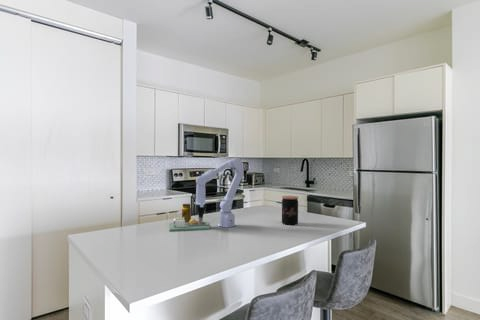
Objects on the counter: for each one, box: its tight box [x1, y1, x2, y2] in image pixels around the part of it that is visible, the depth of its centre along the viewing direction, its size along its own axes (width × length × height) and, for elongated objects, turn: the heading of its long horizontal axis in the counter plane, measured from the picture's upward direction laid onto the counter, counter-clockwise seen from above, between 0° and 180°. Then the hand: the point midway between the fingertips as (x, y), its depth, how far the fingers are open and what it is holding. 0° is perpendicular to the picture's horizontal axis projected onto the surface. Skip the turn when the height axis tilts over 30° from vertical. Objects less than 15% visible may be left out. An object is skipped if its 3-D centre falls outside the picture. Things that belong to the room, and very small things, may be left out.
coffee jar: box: [281, 195, 299, 226], centre depth 186 cm, size 11×11×18 cm
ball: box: [189, 218, 197, 225], centre depth 175 cm, size 4×4×4 cm
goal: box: [173, 217, 185, 228], centre depth 173 cm, size 6×8×4 cm
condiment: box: [181, 203, 192, 223], centre depth 190 cm, size 7×8×12 cm
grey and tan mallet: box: [197, 212, 204, 224], centre depth 176 cm, size 3×4×8 cm
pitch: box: [168, 221, 211, 232], centre depth 174 cm, size 24×16×2 cm, turn 104°
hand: (200, 216), depth 176 cm, fingers closed on grey and tan mallet, 3 cm apart
